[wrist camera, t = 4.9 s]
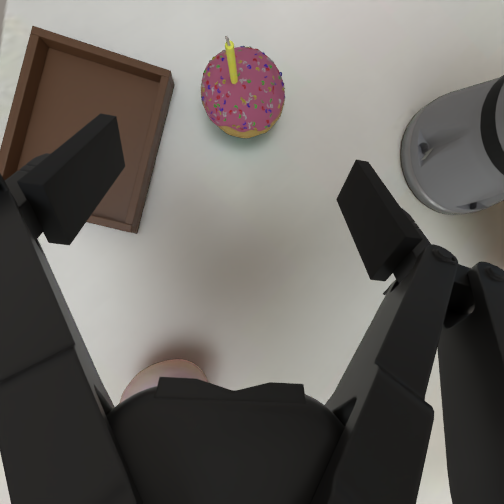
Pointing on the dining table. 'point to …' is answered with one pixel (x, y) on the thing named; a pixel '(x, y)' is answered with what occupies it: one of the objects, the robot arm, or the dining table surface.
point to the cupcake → (242, 91)
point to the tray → (89, 114)
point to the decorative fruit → (162, 375)
